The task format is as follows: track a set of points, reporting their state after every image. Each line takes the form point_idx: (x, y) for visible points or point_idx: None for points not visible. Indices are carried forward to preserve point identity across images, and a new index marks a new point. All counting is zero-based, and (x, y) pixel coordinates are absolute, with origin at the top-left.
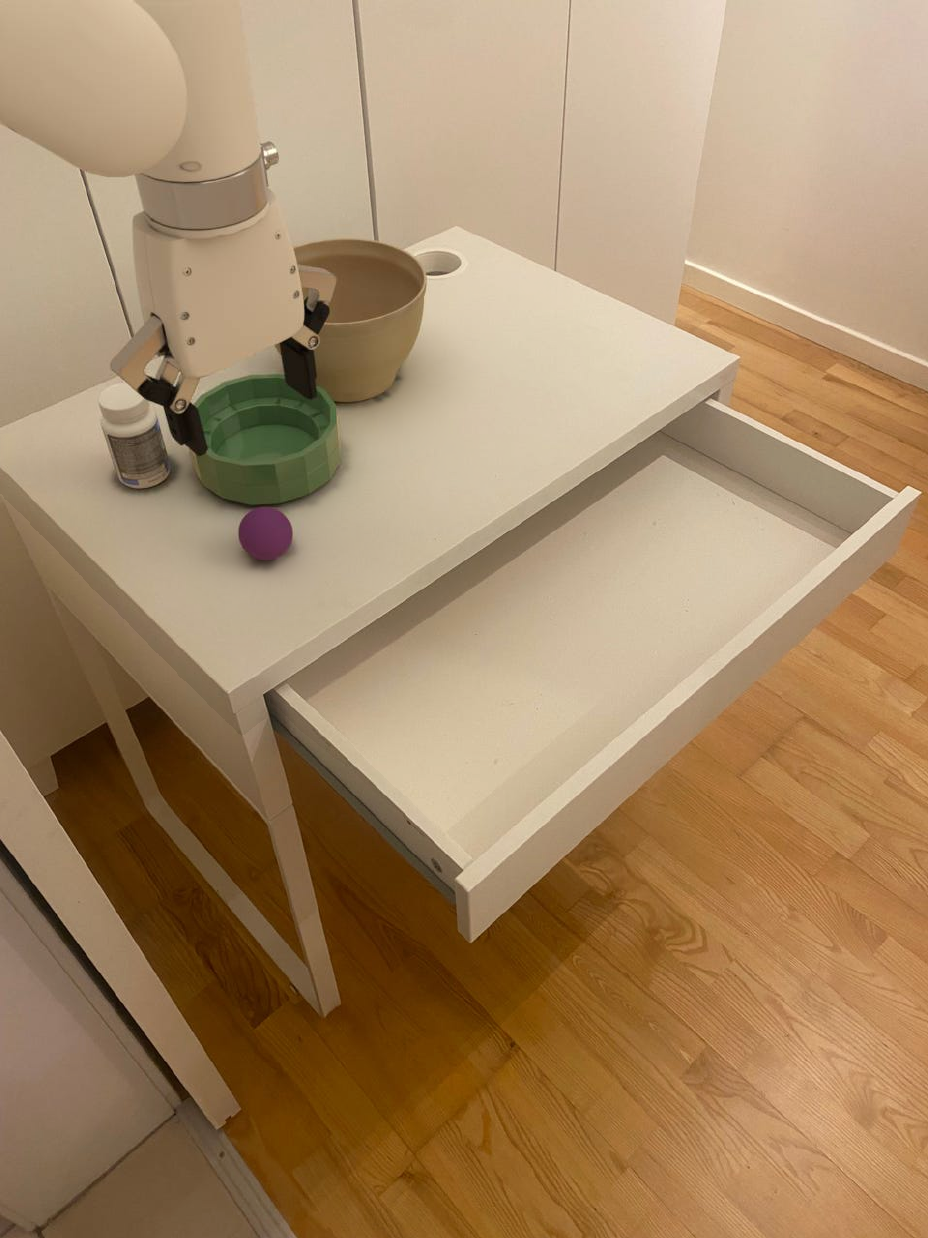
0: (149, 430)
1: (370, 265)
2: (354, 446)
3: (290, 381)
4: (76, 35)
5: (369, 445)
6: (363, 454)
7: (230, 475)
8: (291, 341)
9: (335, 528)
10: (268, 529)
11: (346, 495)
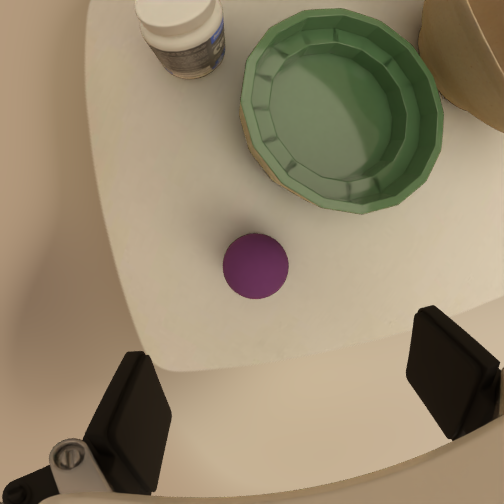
0: (194, 47)
1: None
2: None
3: (419, 337)
4: None
5: None
6: None
7: (264, 164)
8: (478, 415)
9: (332, 261)
10: (253, 295)
11: (370, 222)
